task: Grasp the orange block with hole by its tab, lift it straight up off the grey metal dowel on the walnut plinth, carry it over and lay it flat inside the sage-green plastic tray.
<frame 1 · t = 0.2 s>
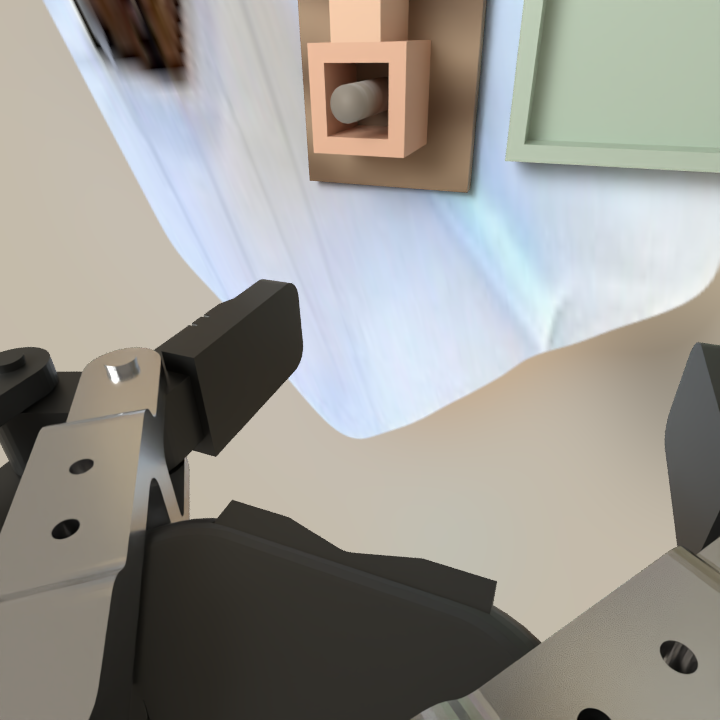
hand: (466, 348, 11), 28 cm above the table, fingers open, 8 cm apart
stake: (389, 92, 36), on the table
orange block with hole: (384, 93, 35), point 1 cm above the table, touching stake
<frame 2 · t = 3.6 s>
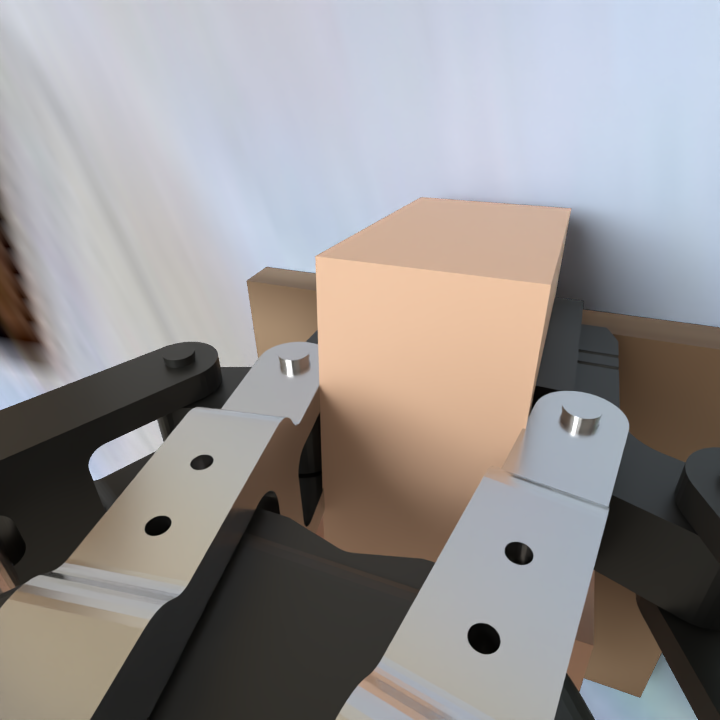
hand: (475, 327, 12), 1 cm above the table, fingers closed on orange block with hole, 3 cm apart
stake: (466, 481, 16), on the table
orange block with hole: (455, 521, 15), point 2 cm above the table, tilted 5°, touching gripper, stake
when the fingers open (3 cm above the table, at t = 9.7 s): orange block with hole stays where it is, resting on tray.
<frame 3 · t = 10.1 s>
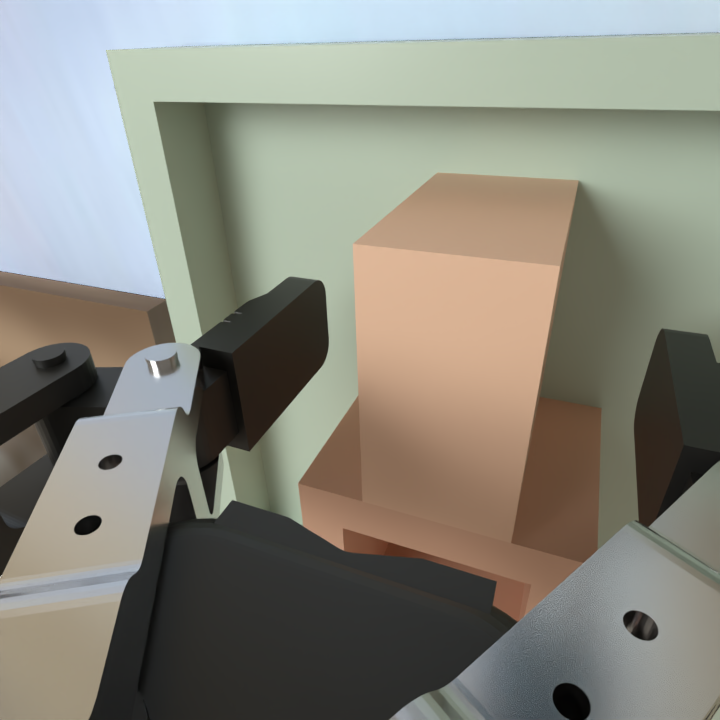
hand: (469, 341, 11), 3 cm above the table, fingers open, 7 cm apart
tray: (483, 383, 15), on the table
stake: (86, 404, 24), on the table
orange block with hole: (473, 468, 16), point 1 cm above the table, touching tray
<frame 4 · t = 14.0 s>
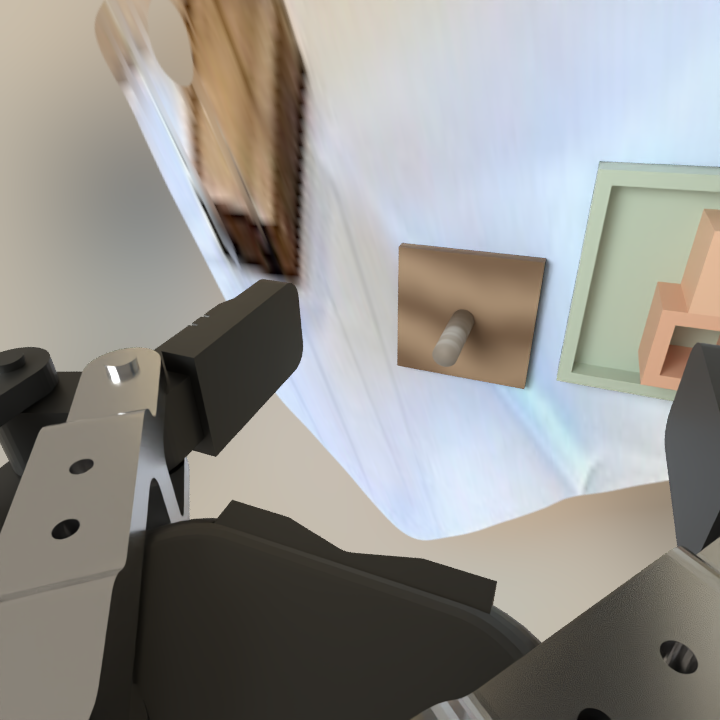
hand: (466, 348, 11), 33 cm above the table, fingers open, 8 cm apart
tray: (699, 287, 39), on the table
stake: (465, 314, 47), on the table
orange block with hole: (691, 323, 40), point 1 cm above the table, touching tray
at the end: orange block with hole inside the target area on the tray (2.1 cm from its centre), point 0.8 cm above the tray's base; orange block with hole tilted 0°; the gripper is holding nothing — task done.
